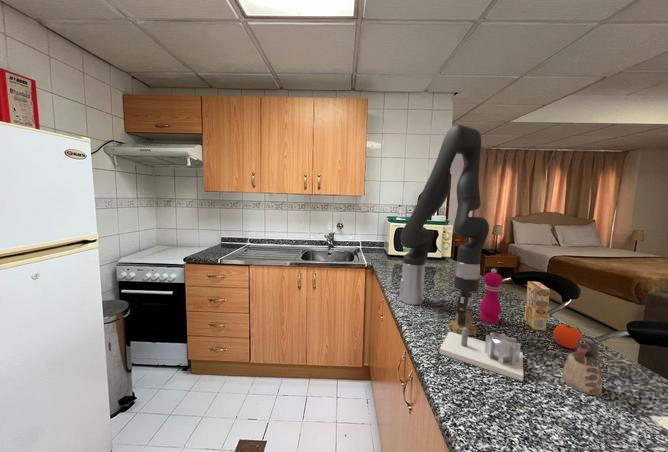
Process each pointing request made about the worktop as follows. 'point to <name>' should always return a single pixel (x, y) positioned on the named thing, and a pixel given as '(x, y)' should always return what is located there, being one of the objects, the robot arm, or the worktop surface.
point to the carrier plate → (478, 354)
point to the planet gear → (458, 328)
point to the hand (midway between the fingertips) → (463, 320)
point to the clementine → (567, 335)
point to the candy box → (537, 305)
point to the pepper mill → (491, 298)
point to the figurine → (584, 368)
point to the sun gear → (502, 348)
